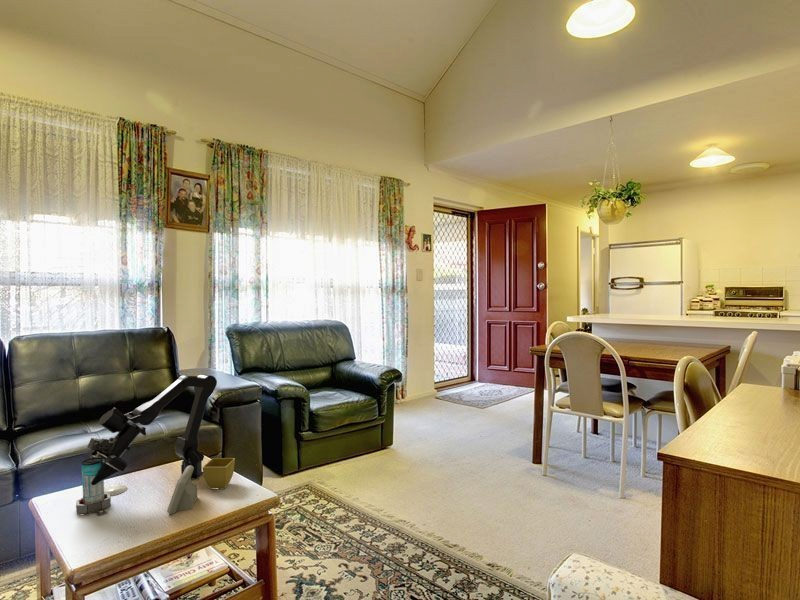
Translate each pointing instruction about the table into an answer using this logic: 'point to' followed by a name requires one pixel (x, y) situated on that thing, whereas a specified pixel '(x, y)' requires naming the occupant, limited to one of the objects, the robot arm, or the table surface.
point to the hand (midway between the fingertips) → (88, 482)
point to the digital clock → (183, 492)
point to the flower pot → (218, 472)
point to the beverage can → (88, 473)
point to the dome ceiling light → (115, 489)
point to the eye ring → (94, 506)
